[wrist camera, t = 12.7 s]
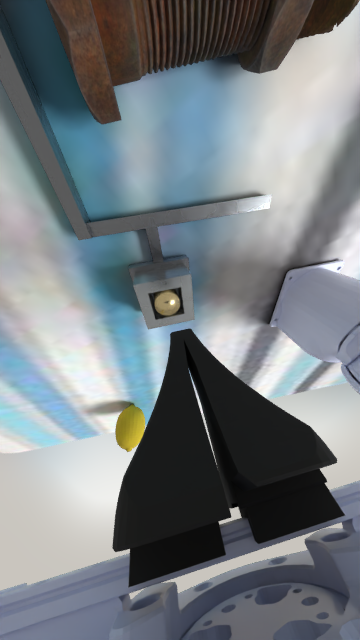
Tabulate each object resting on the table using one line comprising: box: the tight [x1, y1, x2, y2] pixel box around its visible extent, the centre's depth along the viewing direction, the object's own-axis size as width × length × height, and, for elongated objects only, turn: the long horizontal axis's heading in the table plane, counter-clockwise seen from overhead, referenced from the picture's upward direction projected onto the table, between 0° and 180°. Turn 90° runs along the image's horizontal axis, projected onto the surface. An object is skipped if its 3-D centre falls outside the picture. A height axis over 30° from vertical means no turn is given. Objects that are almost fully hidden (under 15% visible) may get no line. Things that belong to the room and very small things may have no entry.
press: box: [0, 6, 272, 329], centre depth 11 cm, size 21×17×4 cm
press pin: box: [154, 288, 180, 315], centre depth 15 cm, size 2×2×3 cm
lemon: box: [116, 404, 145, 452], centre depth 29 cm, size 6×6×8 cm
